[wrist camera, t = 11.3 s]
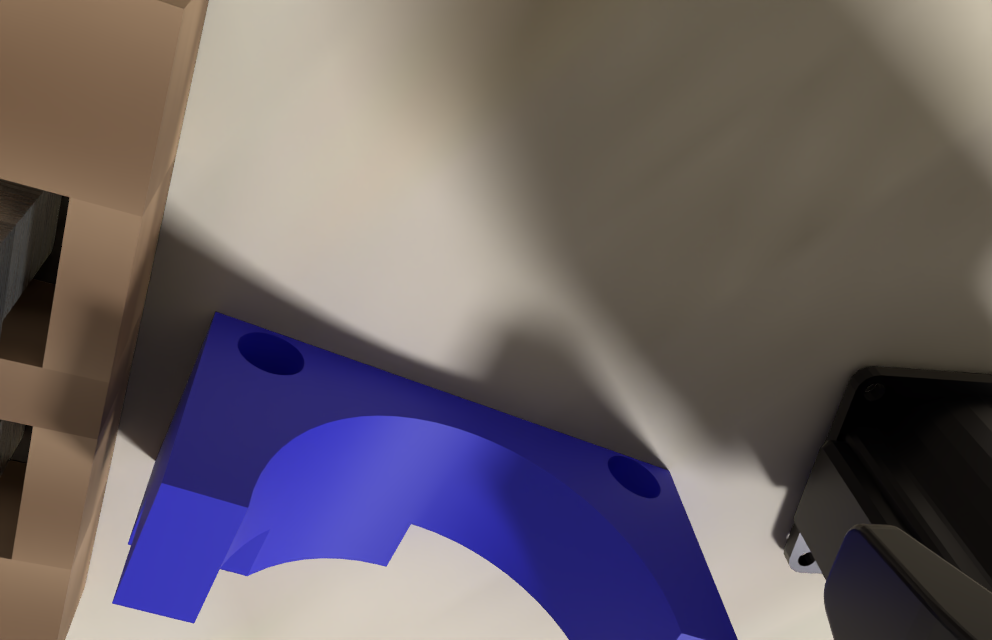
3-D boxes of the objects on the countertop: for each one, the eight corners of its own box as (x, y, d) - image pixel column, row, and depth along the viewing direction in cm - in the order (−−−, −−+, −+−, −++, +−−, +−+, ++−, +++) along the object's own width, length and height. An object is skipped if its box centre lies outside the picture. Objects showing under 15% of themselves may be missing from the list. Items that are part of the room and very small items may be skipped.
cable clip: (156, 457, 23) (90, 657, 18) (216, 307, 21) (161, 483, 16) (584, 583, 26) (632, 780, 21) (667, 466, 25) (742, 650, 19)
